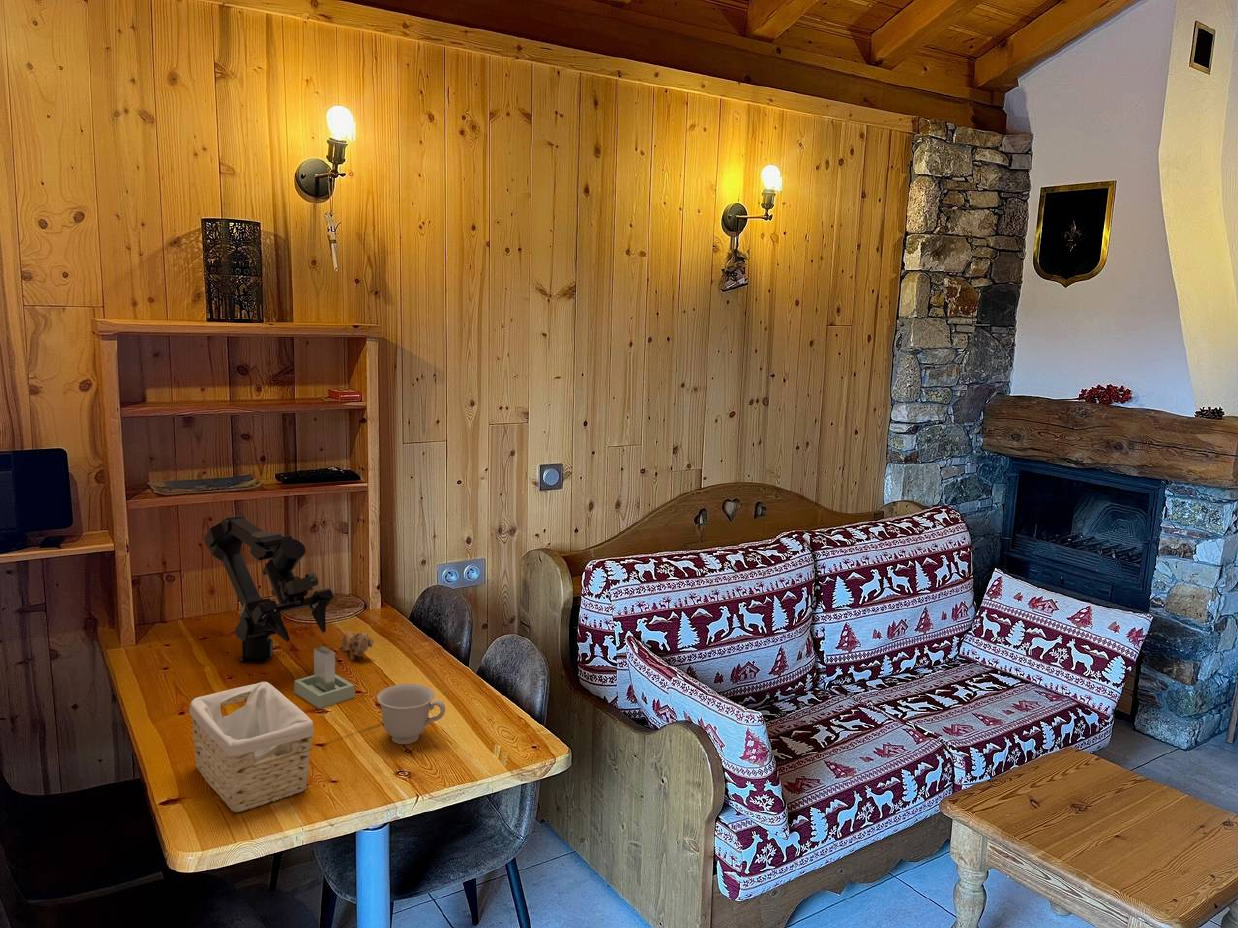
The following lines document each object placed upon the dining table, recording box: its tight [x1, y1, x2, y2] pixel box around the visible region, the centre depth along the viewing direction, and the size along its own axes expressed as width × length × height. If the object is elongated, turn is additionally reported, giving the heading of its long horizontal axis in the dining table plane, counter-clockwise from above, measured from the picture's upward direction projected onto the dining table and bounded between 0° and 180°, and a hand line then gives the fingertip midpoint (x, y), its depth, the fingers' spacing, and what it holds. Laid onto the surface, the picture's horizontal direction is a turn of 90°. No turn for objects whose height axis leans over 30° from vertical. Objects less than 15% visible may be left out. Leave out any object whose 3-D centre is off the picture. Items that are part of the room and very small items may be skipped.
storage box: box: [294, 673, 355, 710], centre depth 212 cm, size 11×9×4 cm
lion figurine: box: [339, 630, 375, 661], centre depth 236 cm, size 15×5×9 cm, turn 44°
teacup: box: [376, 683, 446, 745], centre depth 196 cm, size 12×15×10 cm
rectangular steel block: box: [313, 645, 336, 692], centre depth 211 cm, size 5×2×11 cm, turn 48°
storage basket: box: [188, 681, 315, 813], centre depth 177 cm, size 24×16×15 cm
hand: (306, 636), depth 215 cm, fingers open, 9 cm apart
